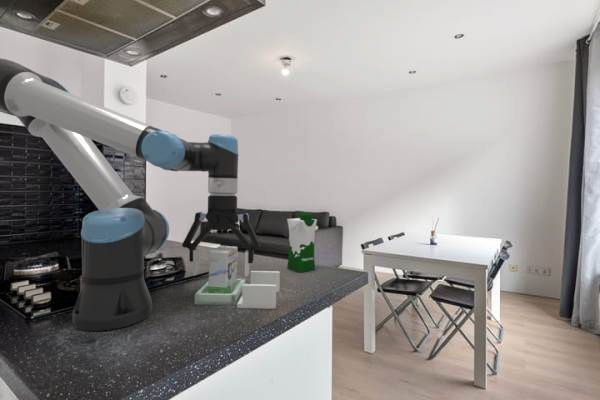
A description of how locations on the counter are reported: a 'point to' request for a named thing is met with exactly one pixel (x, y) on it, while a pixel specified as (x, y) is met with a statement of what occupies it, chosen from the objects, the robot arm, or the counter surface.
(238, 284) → the tray
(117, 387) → the counter surface
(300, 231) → the milk carton
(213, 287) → the ink box
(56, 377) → the counter surface
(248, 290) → the bay
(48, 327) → the counter surface
